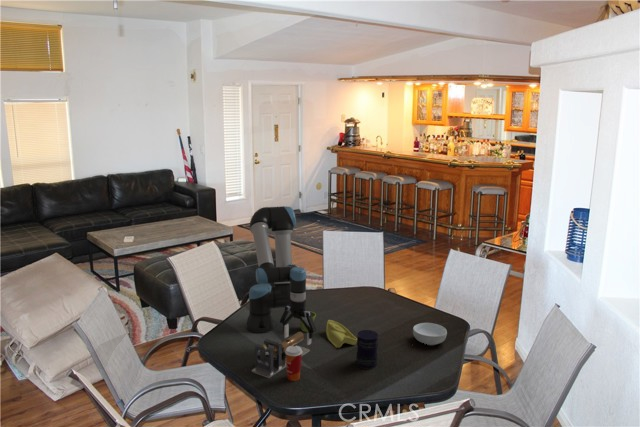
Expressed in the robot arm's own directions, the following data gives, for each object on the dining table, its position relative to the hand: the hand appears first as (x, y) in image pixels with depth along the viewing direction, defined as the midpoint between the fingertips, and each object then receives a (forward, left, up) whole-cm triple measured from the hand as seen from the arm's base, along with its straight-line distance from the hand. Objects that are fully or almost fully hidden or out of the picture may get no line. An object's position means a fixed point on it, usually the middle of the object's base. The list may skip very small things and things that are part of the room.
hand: (297, 340), depth 269 cm
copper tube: (0, -7, -1) cm, 7 cm away
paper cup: (+13, -22, -6) cm, 26 cm away
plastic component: (+10, +24, -6) cm, 26 cm away
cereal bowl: (+49, +48, -6) cm, 68 cm away
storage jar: (+34, +9, -6) cm, 35 cm away
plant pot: (-10, +23, -6) cm, 26 cm away
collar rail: (0, -12, -6) cm, 13 cm away
